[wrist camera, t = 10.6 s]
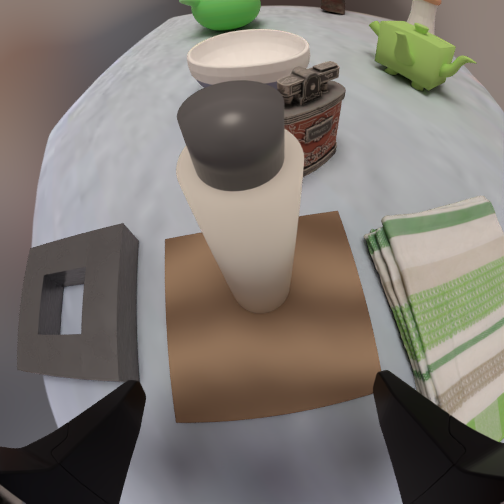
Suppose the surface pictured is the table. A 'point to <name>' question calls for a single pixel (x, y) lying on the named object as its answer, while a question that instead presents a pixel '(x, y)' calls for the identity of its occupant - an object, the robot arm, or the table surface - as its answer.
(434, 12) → the pepper shaker
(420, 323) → the dish towel
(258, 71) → the bowl
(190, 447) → the table surface
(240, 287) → the white bottle
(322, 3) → the candle
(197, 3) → the toy bird
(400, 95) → the table surface
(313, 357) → the board
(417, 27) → the kettle
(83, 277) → the housing
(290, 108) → the lighter
